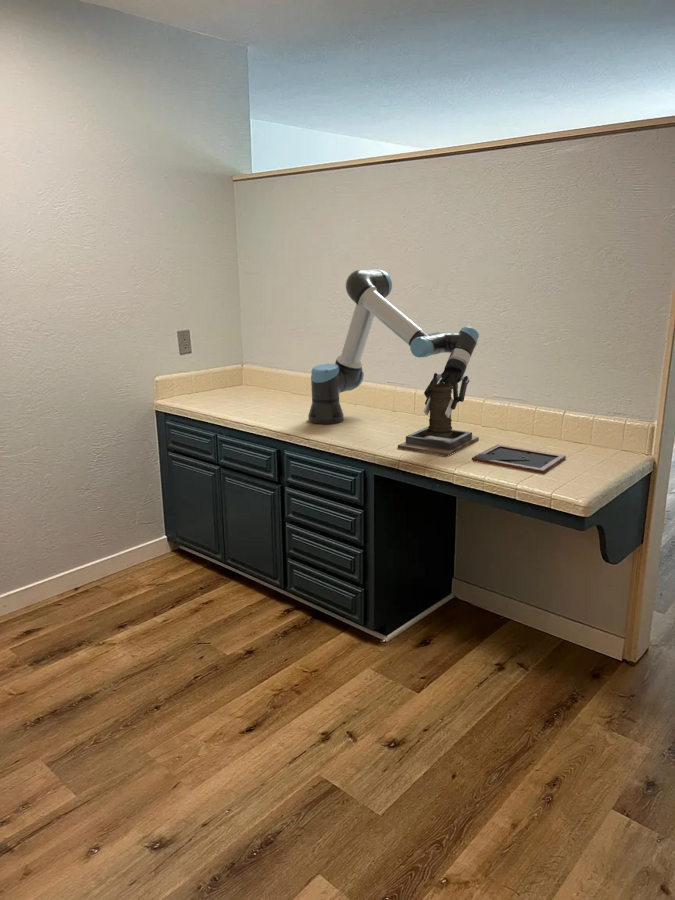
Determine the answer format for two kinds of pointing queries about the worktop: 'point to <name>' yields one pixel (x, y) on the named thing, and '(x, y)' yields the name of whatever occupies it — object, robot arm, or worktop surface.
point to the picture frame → (519, 458)
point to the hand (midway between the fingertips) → (436, 414)
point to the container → (440, 410)
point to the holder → (438, 442)
